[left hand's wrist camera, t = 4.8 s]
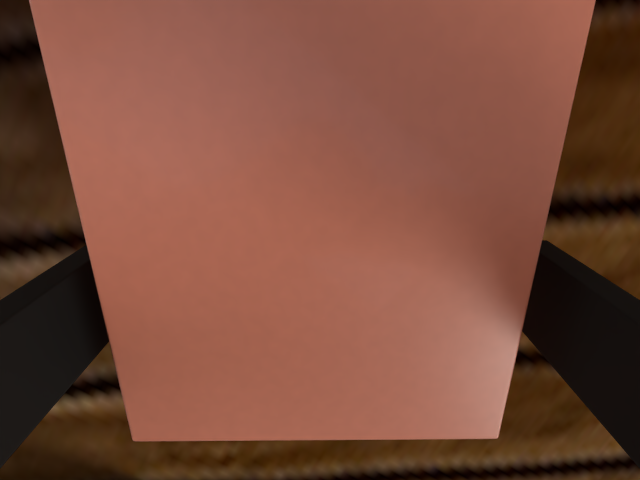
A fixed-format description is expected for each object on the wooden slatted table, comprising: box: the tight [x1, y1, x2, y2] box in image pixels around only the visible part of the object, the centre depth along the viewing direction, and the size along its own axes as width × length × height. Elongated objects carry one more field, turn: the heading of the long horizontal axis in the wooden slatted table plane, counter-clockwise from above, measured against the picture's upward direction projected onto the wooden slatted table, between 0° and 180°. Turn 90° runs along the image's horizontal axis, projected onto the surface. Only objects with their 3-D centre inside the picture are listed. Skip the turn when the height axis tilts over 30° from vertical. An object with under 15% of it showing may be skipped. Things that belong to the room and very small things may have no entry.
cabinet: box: [29, 0, 596, 441], centre depth 11 cm, size 21×10×9 cm, turn 0°
